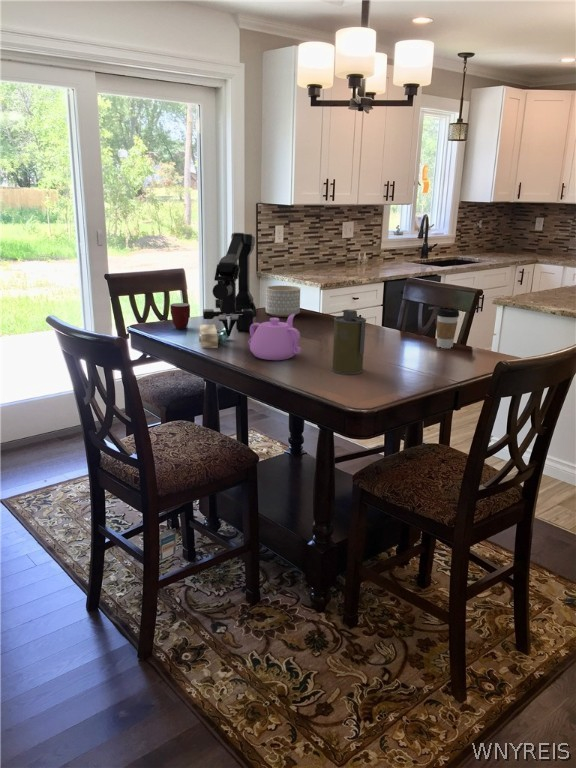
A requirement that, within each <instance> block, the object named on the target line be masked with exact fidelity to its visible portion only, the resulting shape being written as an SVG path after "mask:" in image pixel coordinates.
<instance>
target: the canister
mask: <svg viewBox="0 0 576 768" xmlns="http://www.w3.org/2000/svg"><path fill="white" fill-rule="evenodd" d="M333 321H334V322H333V342H332V343H333V346H332V347H333V348H332V365H331V371H332V372H333V373H336V374H338V375H339V374H341V375H349V376H351V375H352V376H353V375H359V374H362V373H363V371H364V369H363V368H364V366H363V365H364V354H365V340H366V338H365V336H366V322H367V319H366V318H365V317H362V316H358V311H357V310H355V309H348V308H347V309H343V310H342V315H338V316H334V318H333Z"/></svg>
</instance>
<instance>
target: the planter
mask: <svg viewBox="0 0 576 768" xmlns="http://www.w3.org/2000/svg"><path fill="white" fill-rule="evenodd" d="M300 309H301V287H299V286H295V285H269V286H266V287H265V313H267V314H268V315H269V316H271V317H275V318H288V317H289V316H290V315H291V314H295V315H294V317H295V316H297V315H298V314H300V312H301V311H300Z"/></svg>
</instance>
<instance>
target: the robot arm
mask: <svg viewBox="0 0 576 768" xmlns="http://www.w3.org/2000/svg"><path fill="white" fill-rule="evenodd" d="M230 240H231V241H230V242H229V245H228V249H227V251H226V254H225V256H224V255H223V256H222V257H221V258H220V259H219V262H218V263H217V264H216V270H215V273H214V281H215V282H216V281H217V283H216V284H215V285H214V286H213V288H212V295H213V297H214V298H215V301H214V302H215V309H219V311H217V310H216V311H215V310H214V309H213V308H207V309H206V308H204V309H203V310H202V317H203V320H213V319H214V318H215V317H217V319H218V321H219V322H222V324H223V328H225V330H226V333H227V336H228V337H230V336H231V334H232V331H233V328H234V326H235V328H236V330H237V332H238V333H239V332H241V333H244V332H245V333H246V332H247V333H250V326H251V325H252V324H253V323H254V318H257V317H258V316H257V308H256V304H255V302H254V297H253V295H252V294H251V291H250V267H251V266H250V261H251V259H250V256H251V255H252V253H253V251H254V249H255V248H254V246H255V244H256V237H254V236H253V235H252V233H244V232H233V233H231V235H230ZM237 280H238V281H237ZM236 281H237V283H238V284H237V283H236ZM236 285H238V287H236ZM236 289H238V293H237V291H236ZM227 317H229V318H228V319H229V322H228V319H227Z"/></svg>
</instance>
